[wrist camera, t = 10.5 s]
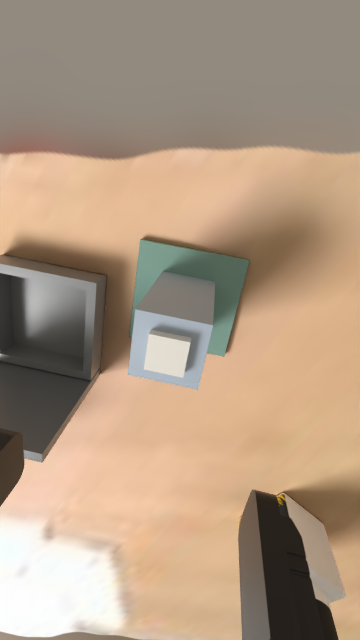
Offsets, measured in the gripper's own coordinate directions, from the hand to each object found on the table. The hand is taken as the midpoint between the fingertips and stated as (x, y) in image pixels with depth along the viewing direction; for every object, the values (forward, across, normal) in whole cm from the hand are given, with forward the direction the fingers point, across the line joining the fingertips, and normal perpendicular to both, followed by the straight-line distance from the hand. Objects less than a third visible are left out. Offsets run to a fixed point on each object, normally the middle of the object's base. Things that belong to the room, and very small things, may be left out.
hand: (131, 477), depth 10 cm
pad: (+18, 0, 0) cm, 18 cm away
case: (+18, +12, +4) cm, 22 cm away
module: (+18, 0, 0) cm, 18 cm away
